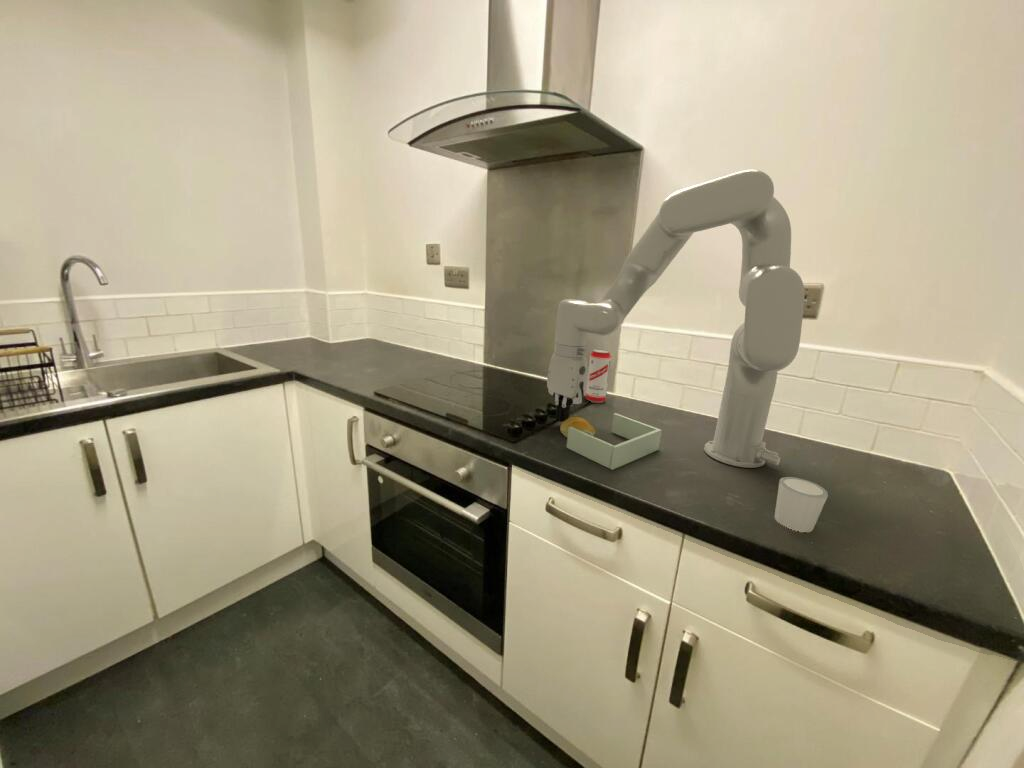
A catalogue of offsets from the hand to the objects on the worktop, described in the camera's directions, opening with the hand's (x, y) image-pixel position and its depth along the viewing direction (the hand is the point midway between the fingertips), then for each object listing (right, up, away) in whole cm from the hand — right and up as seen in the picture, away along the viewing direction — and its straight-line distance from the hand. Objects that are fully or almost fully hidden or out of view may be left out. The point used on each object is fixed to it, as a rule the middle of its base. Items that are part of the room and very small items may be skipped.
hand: (561, 419), depth 108 cm
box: (+10, -6, -11) cm, 16 cm away
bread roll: (+3, -4, -4) cm, 6 cm away
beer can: (+13, +4, +23) cm, 27 cm away
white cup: (+35, -15, -36) cm, 53 cm away
